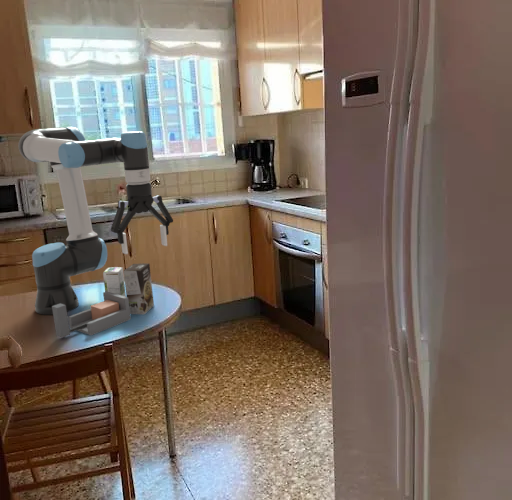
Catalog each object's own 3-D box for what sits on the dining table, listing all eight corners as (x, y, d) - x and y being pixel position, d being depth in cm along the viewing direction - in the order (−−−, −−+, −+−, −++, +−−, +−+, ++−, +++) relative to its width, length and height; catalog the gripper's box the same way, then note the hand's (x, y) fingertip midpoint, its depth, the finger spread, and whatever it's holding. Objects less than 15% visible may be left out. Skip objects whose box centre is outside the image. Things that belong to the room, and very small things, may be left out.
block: (53, 334, 176) (49, 305, 173) (109, 313, 192) (105, 286, 189) (64, 338, 172) (59, 308, 170) (120, 316, 188) (116, 289, 186)
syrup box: (111, 305, 203) (106, 267, 200) (127, 304, 203) (122, 266, 199) (107, 310, 198) (101, 272, 194) (123, 309, 198) (118, 271, 194)
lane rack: (69, 327, 184) (66, 305, 182) (109, 312, 195) (106, 291, 193) (90, 335, 176) (87, 312, 174) (130, 319, 188) (128, 297, 186)
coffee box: (145, 314, 192) (140, 270, 187) (127, 314, 193) (122, 270, 189) (154, 305, 200) (150, 262, 196) (138, 305, 201) (133, 262, 197)
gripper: (103, 189, 160) (112, 259, 166) (180, 178, 174) (185, 243, 179) (94, 186, 166) (103, 254, 172) (169, 176, 180) (174, 239, 185)
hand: (145, 249), depth 176 cm, fingers open, 13 cm apart
